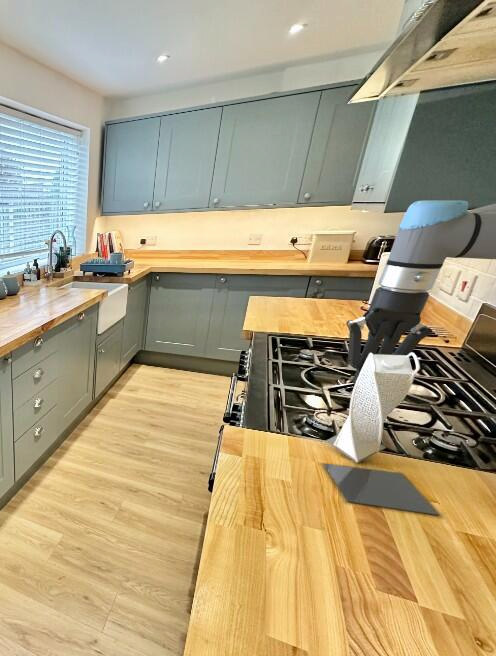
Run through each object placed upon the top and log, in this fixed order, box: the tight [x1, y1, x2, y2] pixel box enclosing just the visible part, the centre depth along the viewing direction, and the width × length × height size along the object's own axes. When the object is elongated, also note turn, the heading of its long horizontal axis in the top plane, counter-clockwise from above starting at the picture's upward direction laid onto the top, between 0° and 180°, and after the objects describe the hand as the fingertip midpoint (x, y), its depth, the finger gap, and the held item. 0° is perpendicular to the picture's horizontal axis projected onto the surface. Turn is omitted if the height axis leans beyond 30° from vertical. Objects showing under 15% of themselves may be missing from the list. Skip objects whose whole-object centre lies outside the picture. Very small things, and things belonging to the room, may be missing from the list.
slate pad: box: [323, 463, 440, 517], centre depth 81 cm, size 13×13×1 cm
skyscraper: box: [325, 351, 421, 464], centre depth 82 cm, size 8×8×28 cm
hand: (358, 399), depth 89 cm, fingers closed
